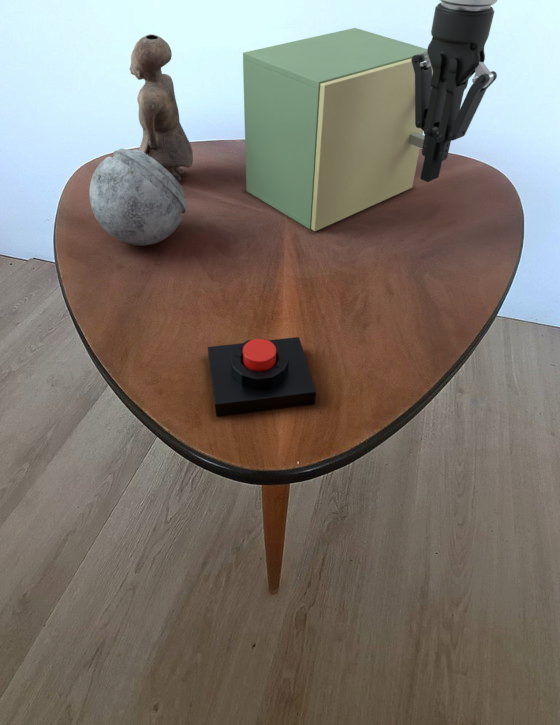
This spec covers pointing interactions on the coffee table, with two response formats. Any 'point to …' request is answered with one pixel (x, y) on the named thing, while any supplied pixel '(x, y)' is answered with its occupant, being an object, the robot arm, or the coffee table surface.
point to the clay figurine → (159, 107)
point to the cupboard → (300, 109)
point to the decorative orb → (136, 198)
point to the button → (259, 355)
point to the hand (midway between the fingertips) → (429, 178)
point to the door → (365, 141)
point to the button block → (260, 379)
